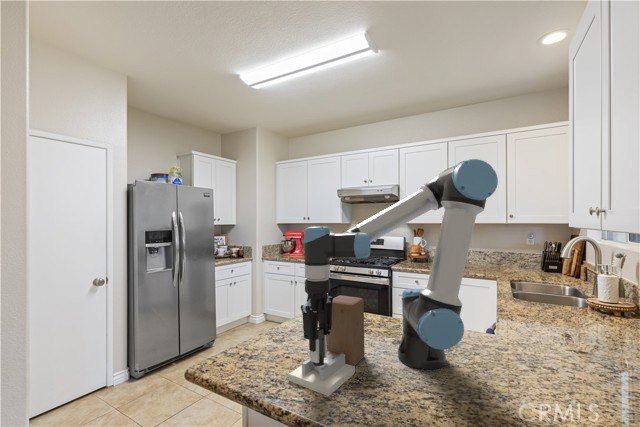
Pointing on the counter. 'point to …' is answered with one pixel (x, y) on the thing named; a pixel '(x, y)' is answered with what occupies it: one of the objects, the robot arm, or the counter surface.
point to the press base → (323, 375)
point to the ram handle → (330, 354)
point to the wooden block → (347, 328)
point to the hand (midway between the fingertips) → (318, 358)
